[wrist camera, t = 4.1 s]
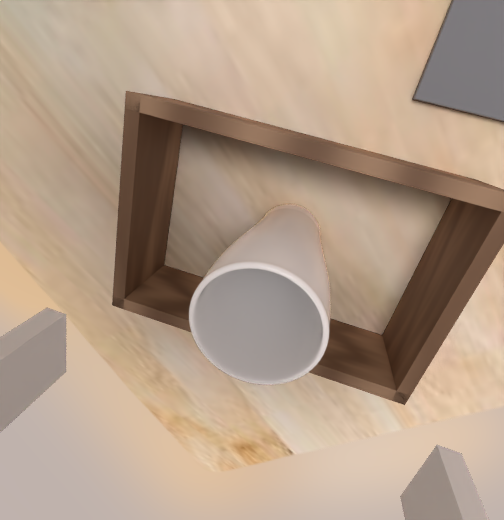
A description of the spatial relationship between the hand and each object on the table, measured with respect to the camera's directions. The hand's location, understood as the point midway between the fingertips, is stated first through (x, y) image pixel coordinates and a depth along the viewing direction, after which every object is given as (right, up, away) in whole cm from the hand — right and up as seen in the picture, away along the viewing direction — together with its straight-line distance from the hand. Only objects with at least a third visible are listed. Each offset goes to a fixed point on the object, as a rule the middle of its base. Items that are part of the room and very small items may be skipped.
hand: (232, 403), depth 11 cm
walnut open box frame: (+4, +7, +17) cm, 19 cm away
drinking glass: (+4, +7, +17) cm, 19 cm away
